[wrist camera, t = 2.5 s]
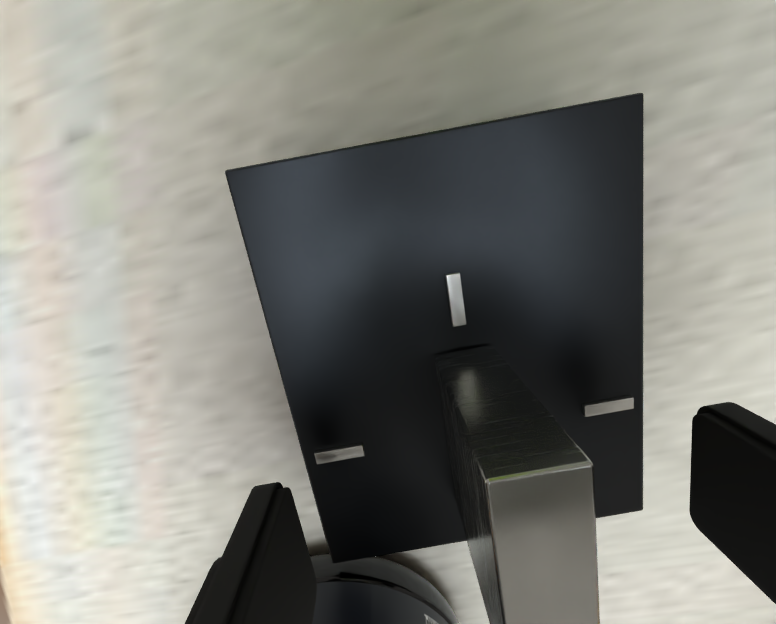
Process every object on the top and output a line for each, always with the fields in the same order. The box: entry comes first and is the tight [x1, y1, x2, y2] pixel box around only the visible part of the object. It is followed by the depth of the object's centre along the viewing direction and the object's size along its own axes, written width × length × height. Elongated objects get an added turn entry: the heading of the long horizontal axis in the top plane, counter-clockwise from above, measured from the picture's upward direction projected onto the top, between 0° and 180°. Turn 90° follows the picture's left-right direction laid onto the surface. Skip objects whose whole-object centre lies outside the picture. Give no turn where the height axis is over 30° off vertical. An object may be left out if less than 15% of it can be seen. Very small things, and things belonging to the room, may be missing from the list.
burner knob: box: [434, 345, 600, 624], centre depth 8 cm, size 5×2×5 cm, turn 10°
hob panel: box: [225, 93, 643, 563], centre depth 12 cm, size 13×10×3 cm
